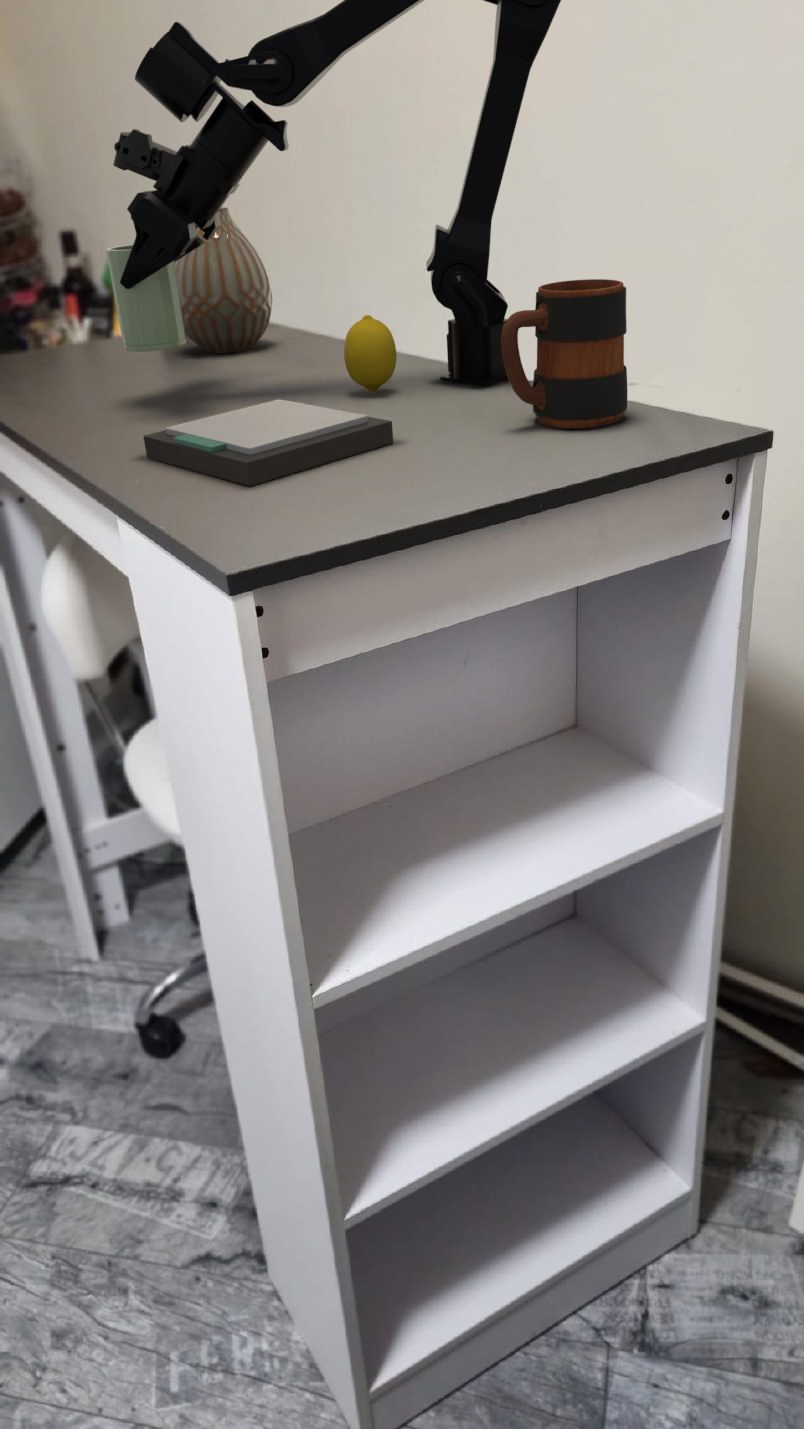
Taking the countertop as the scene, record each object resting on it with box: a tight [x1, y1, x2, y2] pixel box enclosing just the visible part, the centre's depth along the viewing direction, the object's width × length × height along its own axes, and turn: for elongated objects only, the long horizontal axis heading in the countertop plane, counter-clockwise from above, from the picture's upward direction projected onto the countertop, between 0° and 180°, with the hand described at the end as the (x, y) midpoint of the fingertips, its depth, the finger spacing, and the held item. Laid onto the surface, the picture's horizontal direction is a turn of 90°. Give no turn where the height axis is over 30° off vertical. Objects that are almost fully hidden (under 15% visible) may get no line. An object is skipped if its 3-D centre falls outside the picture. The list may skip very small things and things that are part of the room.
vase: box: [175, 206, 273, 354], centre depth 145 cm, size 13×13×18 cm
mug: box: [501, 278, 628, 430], centre depth 99 cm, size 9×12×12 cm
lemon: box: [343, 314, 397, 394], centre depth 116 cm, size 6×6×8 cm
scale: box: [142, 398, 394, 487], centre depth 99 cm, size 16×16×3 cm
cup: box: [105, 244, 188, 353], centre depth 117 cm, size 7×7×10 cm
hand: (132, 282), depth 116 cm, fingers closed on cup, 7 cm apart
